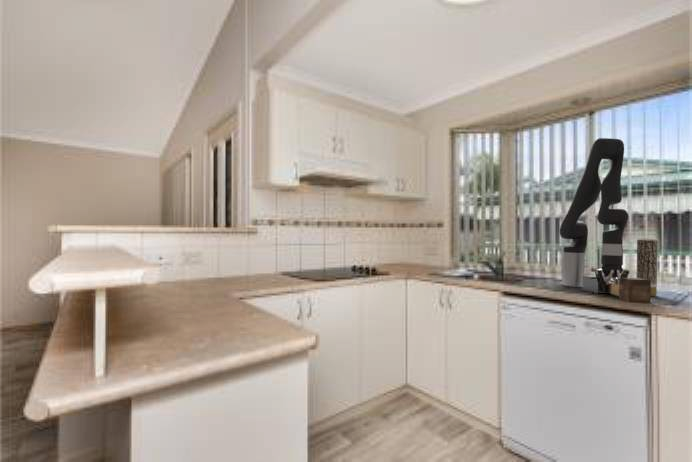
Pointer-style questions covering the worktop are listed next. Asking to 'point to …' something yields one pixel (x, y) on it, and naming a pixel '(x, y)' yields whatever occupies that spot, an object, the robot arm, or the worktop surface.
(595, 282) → the grey multicoloured box
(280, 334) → the worktop surface
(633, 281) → the socket block
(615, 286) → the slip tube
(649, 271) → the bark textured post
